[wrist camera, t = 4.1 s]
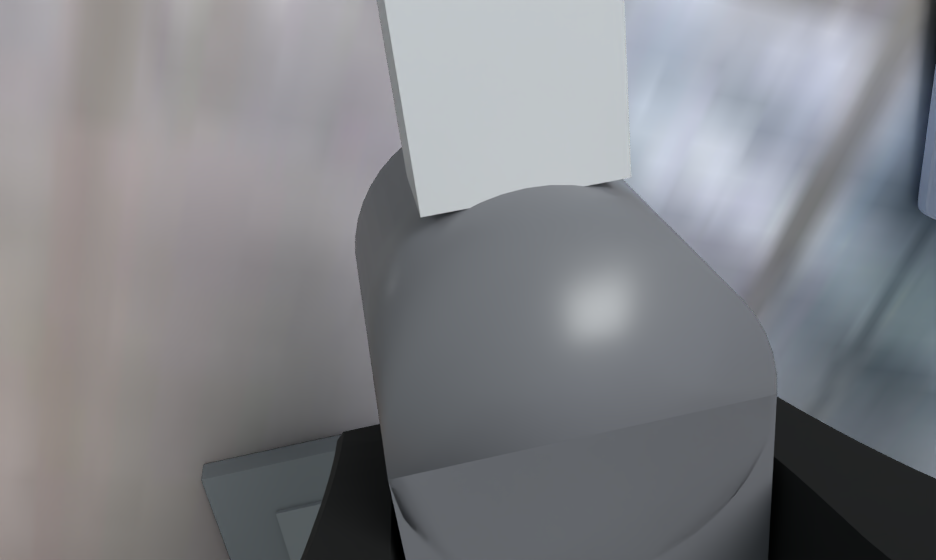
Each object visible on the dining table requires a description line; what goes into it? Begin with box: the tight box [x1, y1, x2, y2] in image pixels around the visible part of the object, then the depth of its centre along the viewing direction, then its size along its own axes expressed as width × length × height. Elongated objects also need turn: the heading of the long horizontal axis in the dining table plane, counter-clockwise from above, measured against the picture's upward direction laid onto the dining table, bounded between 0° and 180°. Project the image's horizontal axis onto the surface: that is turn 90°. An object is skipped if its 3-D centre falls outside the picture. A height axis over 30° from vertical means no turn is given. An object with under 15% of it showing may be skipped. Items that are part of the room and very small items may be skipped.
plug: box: [355, 0, 777, 560], centre depth 11 cm, size 11×4×4 cm, turn 7°
